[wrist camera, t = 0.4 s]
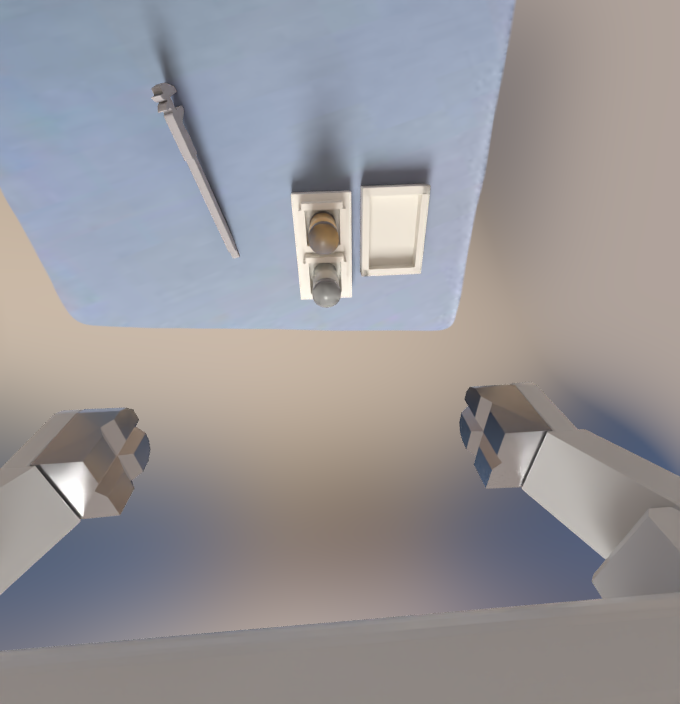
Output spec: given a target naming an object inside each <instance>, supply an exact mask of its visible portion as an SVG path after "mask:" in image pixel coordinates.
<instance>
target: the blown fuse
mask: <svg viewBox="0 0 680 704" xmlns="http://www.w3.org/2000/svg"><path fill="white" fill-rule="evenodd" d="M308 242H309V245H310V247H311V249H312V250H313V251H314V252H315V253H317V254H320V255H328V254H331V253H332V252H334V251H335V250H336V249H337V247H338V244H339V234H338V231H337V227H336V221H335V219H334V217H333V216H332V214H330V213H329V212H327V211H318V212H316V213H315V214H314V215H313V216H312V217H311V219H310V223H309V235H308Z"/></svg>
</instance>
